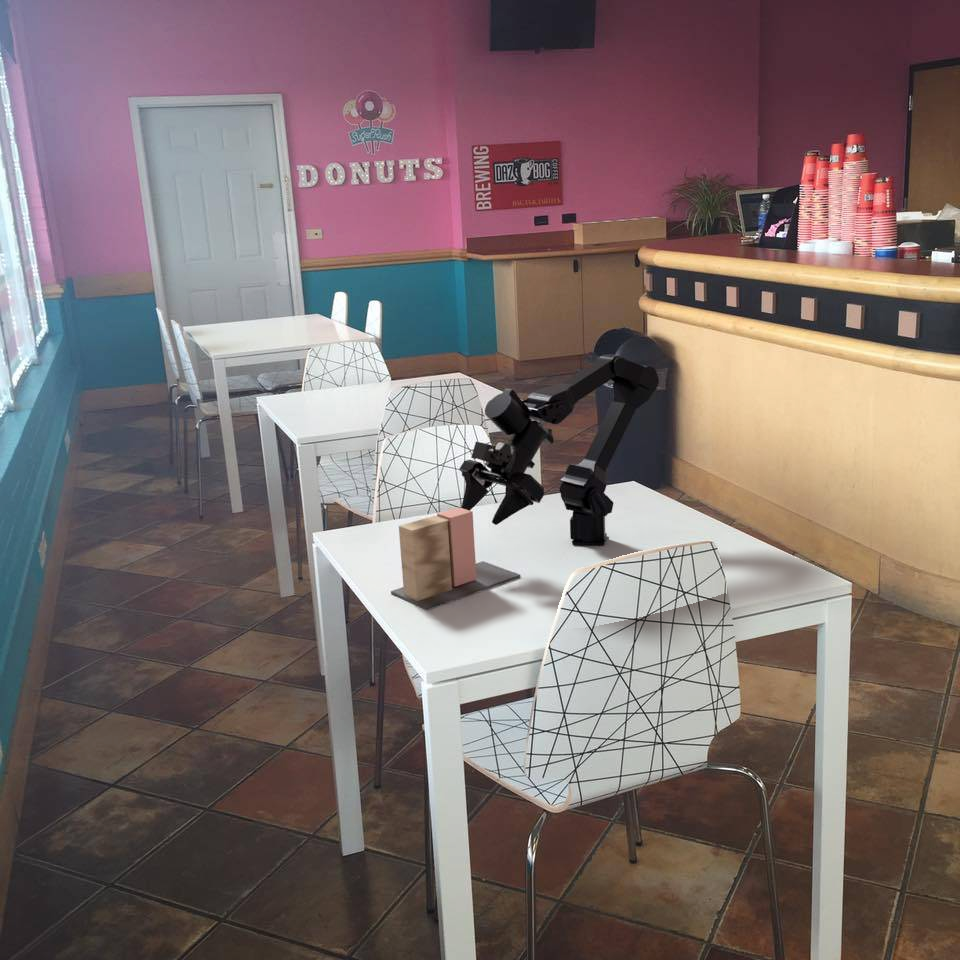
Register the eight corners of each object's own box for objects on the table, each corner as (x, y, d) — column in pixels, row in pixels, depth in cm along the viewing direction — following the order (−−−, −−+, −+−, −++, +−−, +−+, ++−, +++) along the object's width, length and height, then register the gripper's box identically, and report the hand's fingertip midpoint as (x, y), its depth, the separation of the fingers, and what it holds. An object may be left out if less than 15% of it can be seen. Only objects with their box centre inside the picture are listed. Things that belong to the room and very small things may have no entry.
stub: (463, 574, 192) (458, 507, 188) (476, 579, 189) (472, 511, 185) (441, 581, 189) (437, 513, 185) (455, 586, 186) (450, 517, 182)
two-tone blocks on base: (483, 563, 199) (479, 496, 196) (520, 577, 191) (517, 507, 187) (390, 593, 186) (385, 522, 183) (426, 609, 178) (421, 535, 174)
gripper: (464, 418, 195) (420, 486, 191) (530, 431, 181) (484, 504, 177) (498, 451, 202) (456, 517, 198) (563, 466, 188) (520, 537, 184)
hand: (477, 518), depth 189 cm, fingers open, 9 cm apart
